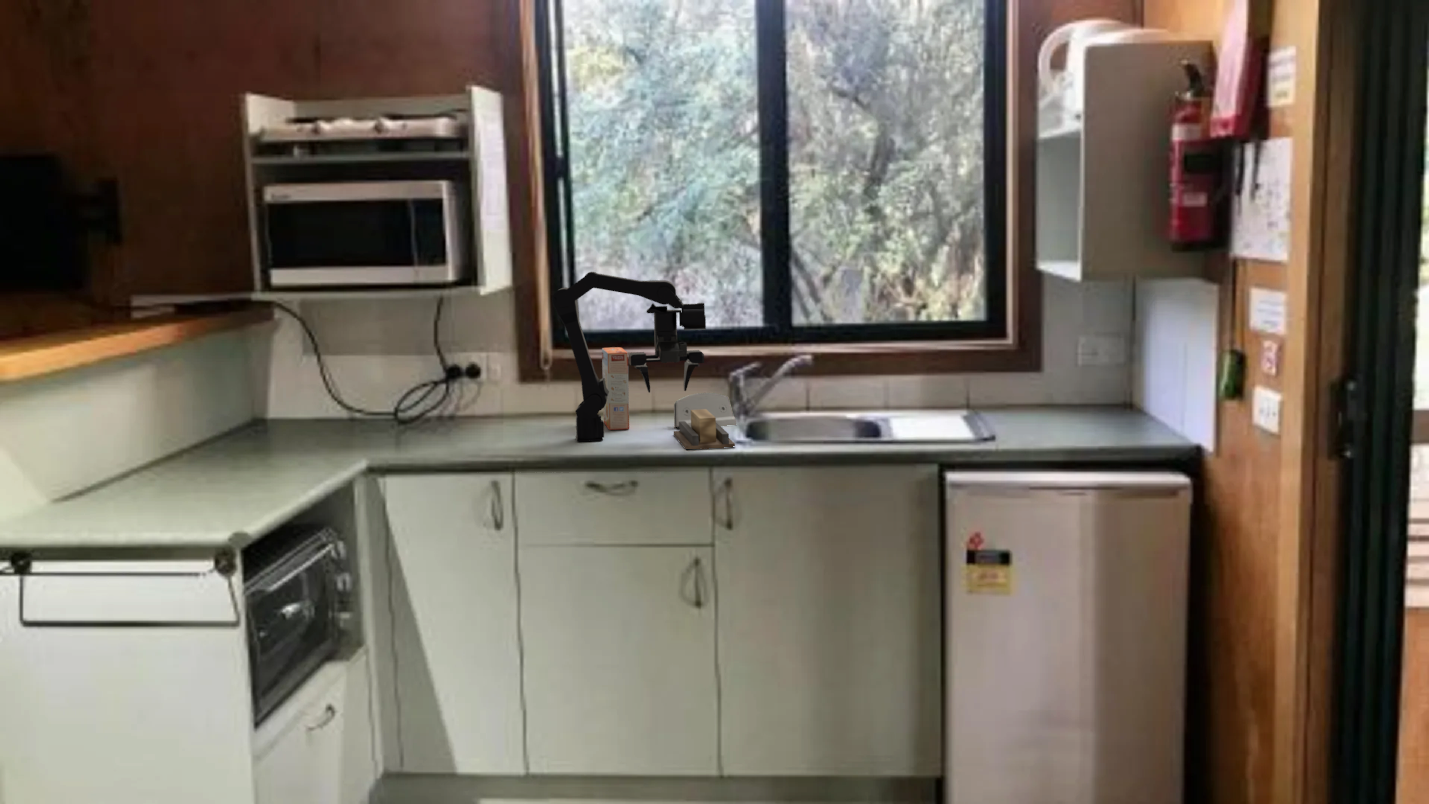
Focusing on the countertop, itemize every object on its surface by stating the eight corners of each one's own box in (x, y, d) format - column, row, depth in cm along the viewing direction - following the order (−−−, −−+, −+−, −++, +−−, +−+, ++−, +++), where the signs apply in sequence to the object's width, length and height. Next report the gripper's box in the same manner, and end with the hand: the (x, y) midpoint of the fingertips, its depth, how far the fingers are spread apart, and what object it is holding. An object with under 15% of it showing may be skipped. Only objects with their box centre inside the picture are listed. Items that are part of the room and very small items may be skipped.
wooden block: (700, 442, 328) (699, 418, 328) (691, 433, 342) (690, 409, 341) (716, 441, 329) (715, 417, 328) (706, 432, 343) (706, 409, 342)
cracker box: (631, 429, 355) (628, 351, 351) (608, 431, 353) (605, 352, 350) (624, 421, 368) (622, 346, 365) (603, 422, 367) (600, 347, 364)
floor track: (686, 450, 324) (686, 436, 323) (673, 434, 345) (673, 421, 345) (735, 447, 326) (734, 433, 325) (719, 432, 347) (719, 419, 347)
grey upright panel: (679, 430, 352) (674, 393, 354) (674, 433, 357) (669, 397, 358) (738, 425, 359) (732, 389, 360) (731, 428, 363) (726, 392, 365)
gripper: (632, 335, 328) (634, 397, 330) (707, 332, 331) (708, 394, 333) (627, 330, 338) (629, 391, 341) (700, 328, 342) (701, 388, 344)
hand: (667, 391), depth 339 cm, fingers open, 9 cm apart
